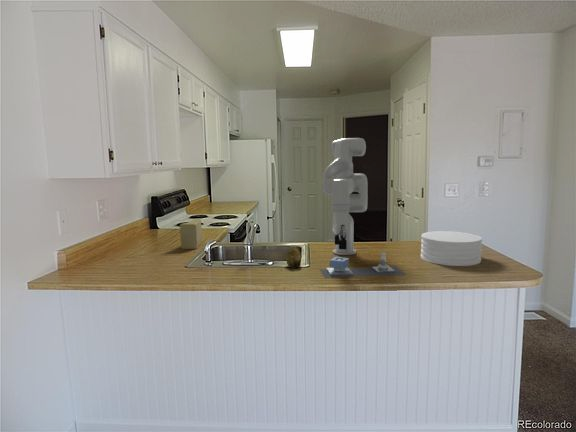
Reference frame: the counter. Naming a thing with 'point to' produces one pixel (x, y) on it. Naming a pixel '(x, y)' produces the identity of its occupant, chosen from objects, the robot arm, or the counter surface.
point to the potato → (293, 258)
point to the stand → (383, 266)
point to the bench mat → (364, 272)
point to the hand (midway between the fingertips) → (340, 246)
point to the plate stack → (451, 248)
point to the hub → (339, 271)
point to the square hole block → (339, 263)
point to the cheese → (191, 234)
